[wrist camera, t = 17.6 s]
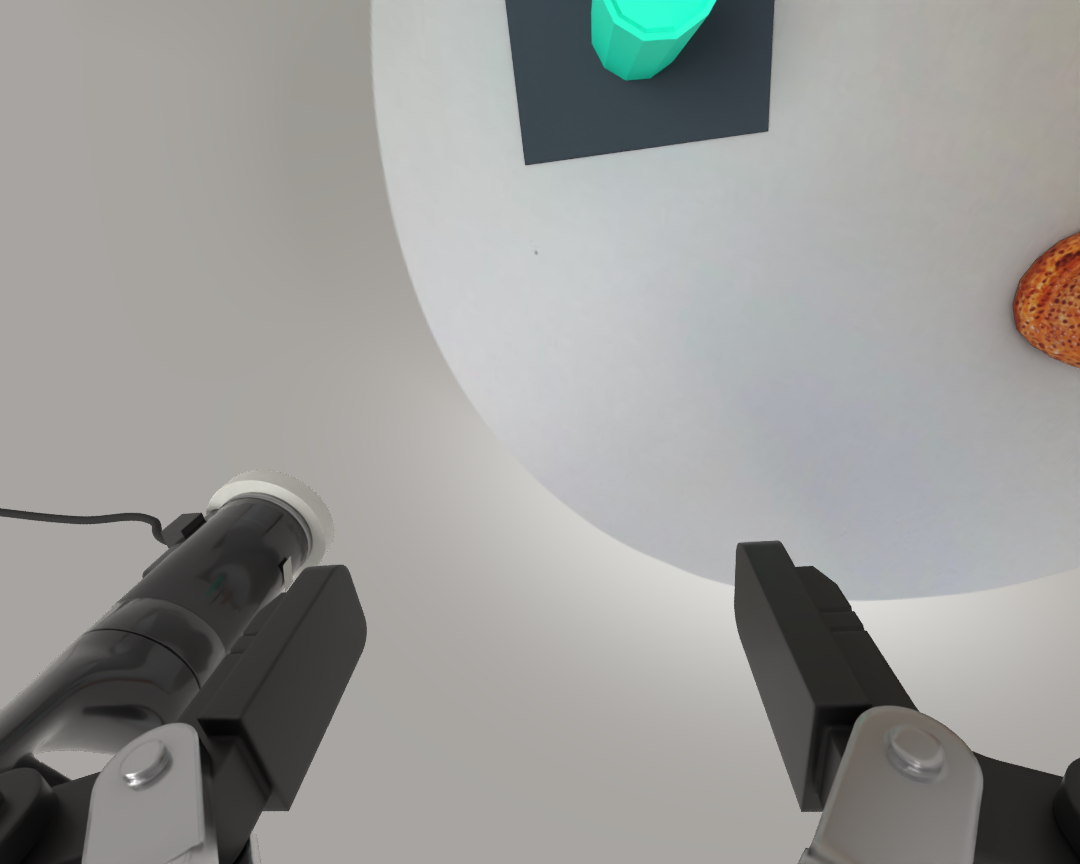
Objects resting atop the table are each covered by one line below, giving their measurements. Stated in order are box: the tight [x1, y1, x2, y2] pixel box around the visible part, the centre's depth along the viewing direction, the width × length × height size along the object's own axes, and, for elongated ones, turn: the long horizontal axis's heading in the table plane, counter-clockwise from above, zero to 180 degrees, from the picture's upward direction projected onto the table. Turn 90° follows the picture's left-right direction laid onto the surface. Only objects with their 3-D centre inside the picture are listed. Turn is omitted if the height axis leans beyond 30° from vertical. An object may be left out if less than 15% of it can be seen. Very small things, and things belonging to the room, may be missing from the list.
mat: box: [505, 0, 774, 165], centre depth 33 cm, size 16×14×1 cm
